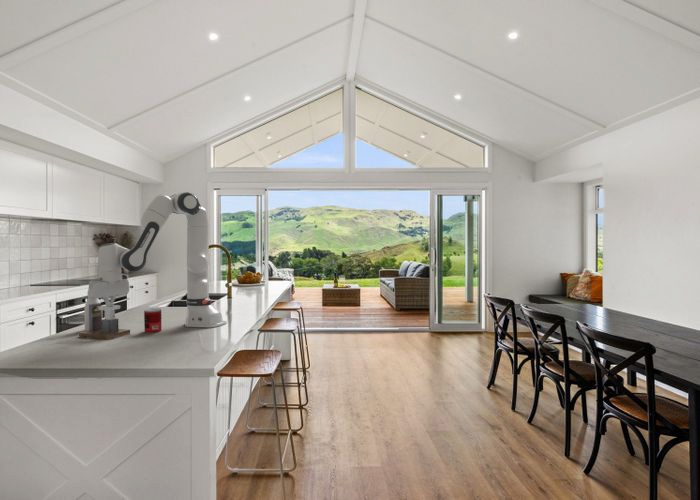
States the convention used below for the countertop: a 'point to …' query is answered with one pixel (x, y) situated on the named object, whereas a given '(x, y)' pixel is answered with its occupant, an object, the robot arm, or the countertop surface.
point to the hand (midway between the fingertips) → (109, 305)
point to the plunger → (109, 311)
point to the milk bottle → (86, 311)
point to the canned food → (152, 320)
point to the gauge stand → (102, 326)
